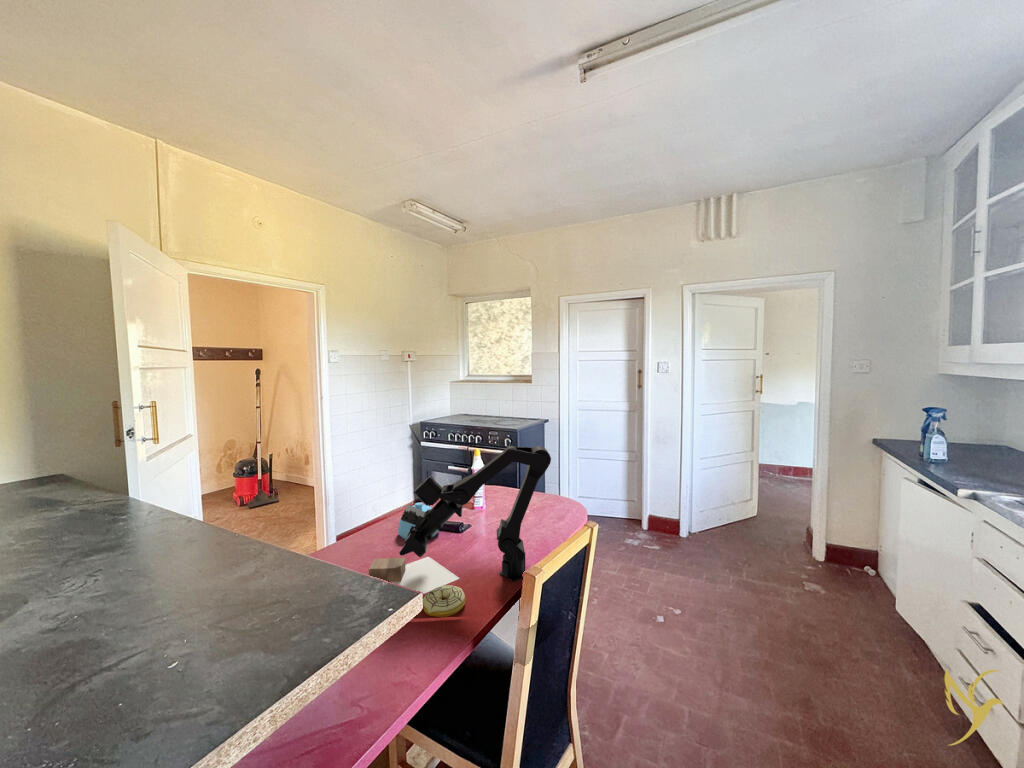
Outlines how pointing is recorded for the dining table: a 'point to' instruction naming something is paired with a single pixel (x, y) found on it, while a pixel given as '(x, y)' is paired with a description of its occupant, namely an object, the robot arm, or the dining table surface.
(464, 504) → the robot arm
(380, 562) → the walnut block
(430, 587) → the rubber mat
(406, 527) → the sugar bowl
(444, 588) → the decorated donut
